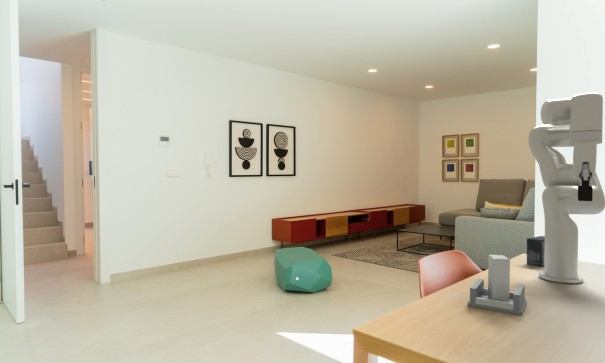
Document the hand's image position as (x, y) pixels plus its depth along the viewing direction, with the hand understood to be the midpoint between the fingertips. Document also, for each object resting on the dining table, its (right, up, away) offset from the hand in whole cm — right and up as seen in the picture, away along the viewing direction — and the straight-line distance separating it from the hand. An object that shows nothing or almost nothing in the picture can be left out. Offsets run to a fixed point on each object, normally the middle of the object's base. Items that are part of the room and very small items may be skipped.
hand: (584, 200), depth 114 cm
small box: (+15, -28, +47) cm, 57 cm away
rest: (-26, -28, -3) cm, 38 cm away
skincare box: (-25, -28, -2) cm, 37 cm away
